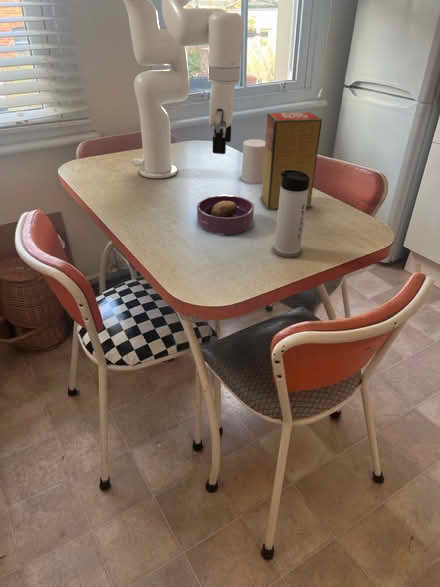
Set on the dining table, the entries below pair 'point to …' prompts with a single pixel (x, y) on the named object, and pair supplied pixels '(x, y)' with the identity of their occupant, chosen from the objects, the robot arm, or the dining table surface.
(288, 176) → the travel mug
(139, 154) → the dining table surface
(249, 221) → the bowl
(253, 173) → the white cylinder
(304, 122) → the food packaging
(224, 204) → the mushroom
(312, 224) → the dining table surface
